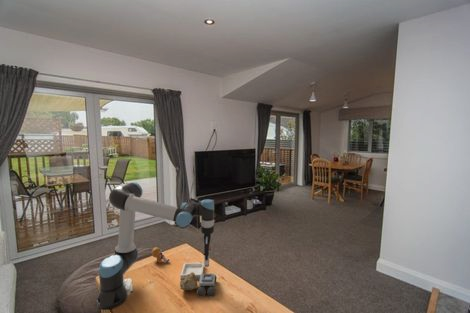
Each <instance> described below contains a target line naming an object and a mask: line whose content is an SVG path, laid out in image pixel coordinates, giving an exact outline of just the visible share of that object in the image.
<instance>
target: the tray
mask: <svg viewBox="0 0 470 313" xmlns="http://www.w3.org/2000/svg"><path fill="white" fill-rule="evenodd" d="M204 268H205V265H204V262H184V263H183V266H182V270H181V272H180V274H179V276H180V278H179V279H180V281H181V280H182V281H183V280H184V279H185V278H186V277H187V275H188V274H190V273H192V272H193V273H195V276H196V280H199V277H200V275H201V274H204Z"/></svg>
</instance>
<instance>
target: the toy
mask: <svg viewBox="0 0 470 313" xmlns="http://www.w3.org/2000/svg"><path fill="white" fill-rule="evenodd" d="M162 251H163V250H162V249H161V248H160V247H156V246H155V247H153V248H152V250H151V256H152V257H153V258H156V263H157V264H160V263H162V260H163V261H164V262H165V263H166V264H168V263H169V262H170V259H167V258H166V256H165V255H164V254H163V252H162Z"/></svg>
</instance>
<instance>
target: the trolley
mask: <svg viewBox="0 0 470 313" xmlns="http://www.w3.org/2000/svg"><path fill="white" fill-rule="evenodd" d="M198 281H199V282H198V286H197V288H196V295H197V296H198V297H199V298H202V297H204V296H205V295H207V296H208V297H214V296H215V295H216V294H217V289H216V287H215V283H216V282H217V275H216V273H203V274H201V275H200V277H199V279H198ZM205 286H208V287H207V289H206V287H205Z"/></svg>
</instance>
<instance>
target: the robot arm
mask: <svg viewBox="0 0 470 313" xmlns="http://www.w3.org/2000/svg"><path fill="white" fill-rule="evenodd" d="M108 195H109V196H108V200H109V203H110V204H111V206H112V207H114V208H116V209H118V210H119V219H118V220H119V222H118V223H119V224H118V238H117V239H118V240H117V245H116V246H115V247H114V254H113V255H109V256H107V257H106V258H104V259H103V260H102V261H101V262H100V264H99V268H98V275H99V276H98V279H99V293H98V295H97V299H96V307H97V308H98V309H100V310H103V311H106V310H107V311H109V310H112V308H113V309H115V308H114V307H116V308H117V306H118V307H119V306H120V305H123V304H124V302H125V301H126V300H127V299H128V290H127V287H126V286H125V284H124V283H125V282H124V275H125V273H127V271H128V270H129V269H130V268H131V267H132V266H133V265H134V264H135V262H136V261H137V259H138V258H139V250H138V249H137V247H136V244H135V243H134V240H135V239H134V237H135V223H136V222H135V221H136V213H140V214H145V215H148V216H153V217H156V218H160V219H164V220H168V221H171V222H175V223H176V224H177V226H178V227H180V228H185V227H187V226H189V225H190V223H191V222H192V220H193V218H195V217H201V221H200V226H201V227H200V232H201V234H203V239H204V240H203V243H204V246H203V250H204V251H203V252H204V253H203V254H202V255H203V257H204V258H203V259H204V260H203V263H204V266H205V265H209V266H210V251H211V248H210V249H209V245H210V244H211V237H212V235H211V234H213V233H214V231H215V226H214V224H215V223H216V220H215V202H214V200H213V199H209V198H206V199H203V200H201V202H189V201H188V202H182V204H181V206H180V207H176V206H174V205H169V204H166V203H162V202H159V201H155V200H151V199H147V198H143V197H142V195H143V188H142V186H141V185H140V184H139V183H137V182H134V181H130V182H125V183H124V184H121V185H120V186H116V187H114V188H113V189H111V191H110V193H109V194H108ZM210 246H211V245H210Z"/></svg>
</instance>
